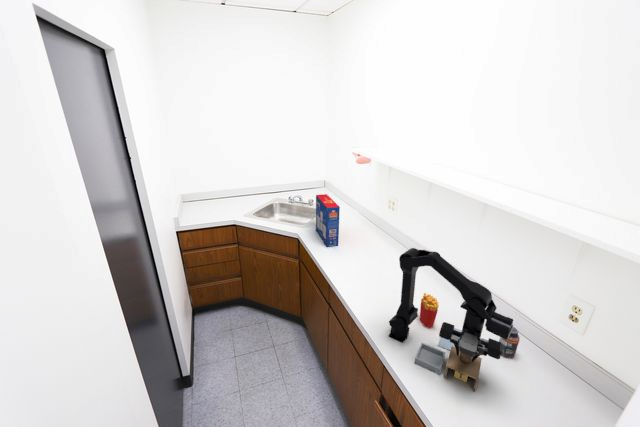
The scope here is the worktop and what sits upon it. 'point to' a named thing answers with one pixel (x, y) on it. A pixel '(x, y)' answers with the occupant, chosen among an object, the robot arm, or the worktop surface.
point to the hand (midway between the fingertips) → (465, 357)
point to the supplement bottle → (510, 344)
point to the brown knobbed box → (464, 365)
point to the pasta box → (327, 220)
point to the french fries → (428, 310)
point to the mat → (447, 342)
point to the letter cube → (460, 376)
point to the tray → (430, 358)
